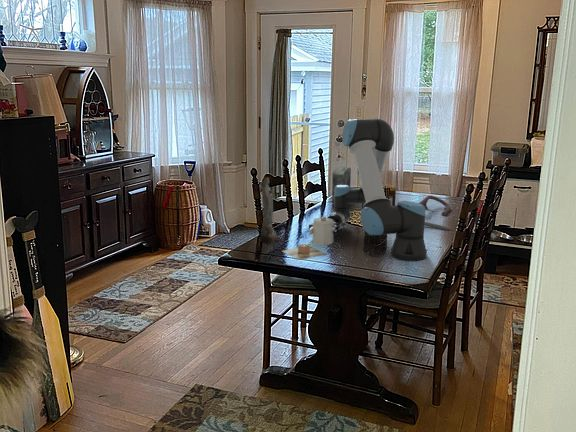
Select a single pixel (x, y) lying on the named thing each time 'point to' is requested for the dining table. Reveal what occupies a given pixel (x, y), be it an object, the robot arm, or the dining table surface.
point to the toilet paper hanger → (436, 200)
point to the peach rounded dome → (303, 249)
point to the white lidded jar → (322, 231)
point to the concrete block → (340, 178)
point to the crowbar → (436, 226)
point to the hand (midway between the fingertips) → (319, 233)
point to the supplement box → (392, 194)
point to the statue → (267, 214)
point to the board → (298, 256)
